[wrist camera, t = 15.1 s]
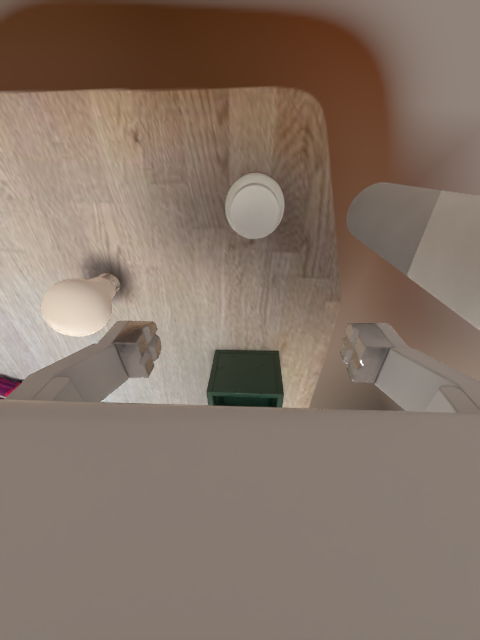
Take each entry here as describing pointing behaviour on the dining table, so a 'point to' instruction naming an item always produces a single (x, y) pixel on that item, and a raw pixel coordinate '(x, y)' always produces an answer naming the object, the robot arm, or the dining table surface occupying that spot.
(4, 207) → the dining table surface
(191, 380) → the dining table surface
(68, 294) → the light bulb
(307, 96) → the dining table surface
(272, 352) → the chest
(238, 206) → the pill bottle
